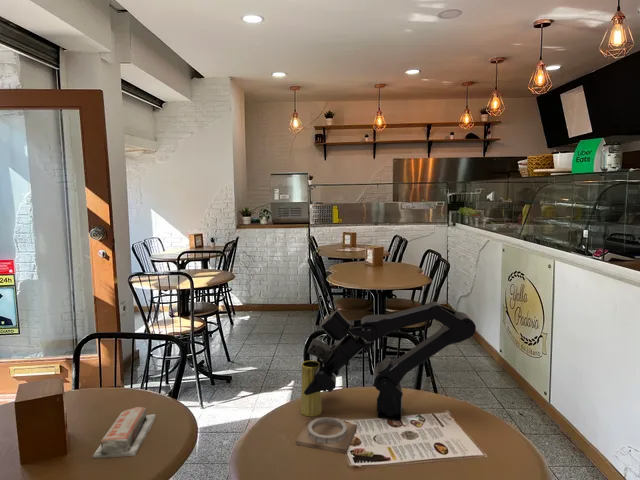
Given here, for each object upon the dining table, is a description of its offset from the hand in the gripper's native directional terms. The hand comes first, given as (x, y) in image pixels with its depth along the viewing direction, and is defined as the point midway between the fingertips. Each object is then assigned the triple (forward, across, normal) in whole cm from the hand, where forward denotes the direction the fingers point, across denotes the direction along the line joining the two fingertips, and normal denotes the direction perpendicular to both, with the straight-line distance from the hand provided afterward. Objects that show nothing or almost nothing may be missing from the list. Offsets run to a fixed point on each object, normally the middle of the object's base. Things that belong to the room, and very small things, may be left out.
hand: (306, 387), depth 125 cm
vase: (+4, 0, +6) cm, 7 cm away
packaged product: (+38, +16, -26) cm, 49 cm away
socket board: (0, +12, +10) cm, 16 cm away
